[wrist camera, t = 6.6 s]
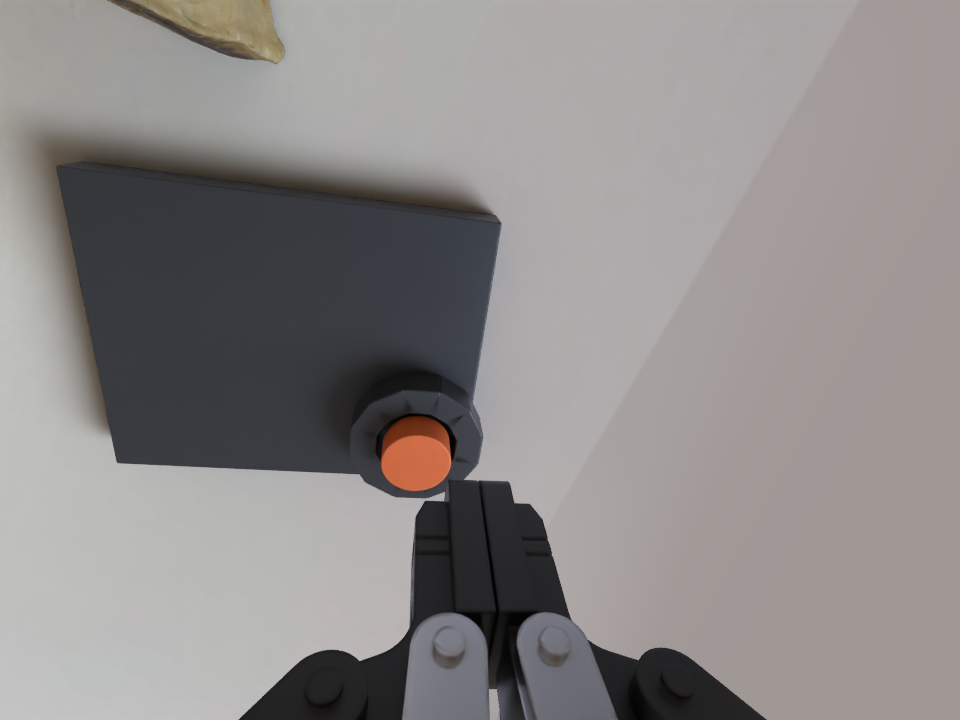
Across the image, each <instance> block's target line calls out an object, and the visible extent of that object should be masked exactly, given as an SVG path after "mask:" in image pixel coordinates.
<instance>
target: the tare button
mask: <svg viewBox="0 0 960 720" xmlns="http://www.w3.org/2000/svg"><path fill="white" fill-rule="evenodd" d="M450 467H451V454H450V443H449V436H448V433H447V431H446V430H445V428H444V427H443V426H442V425H441V424H440V423H439V422H437V421H436V420H434V419H432V418H429V417H425V416H409V417H405V418H402V419H400V420H398V421H396V422H395V423H393V424H392V425H391V426H390V427H389V428H388V430H387V431H386V433H385V435H384V438H383V446H382V455H381V469H382V472H383V474H384V476H385V477H386V478H387V480H388V481H389V482H390V483H392V484H393V485H395V486H396V487H399V488H401V489H404V490H410V491H420V490H426V489H429V488H432V487H434V486H436V485H437V484H439V483H440V482H441V481H442V480H443V479H444V478H445V477H446V476H447V474H448V472H449V470H450Z"/></svg>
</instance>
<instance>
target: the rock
mask: <svg viewBox="0 0 960 720" xmlns="http://www.w3.org/2000/svg"><path fill="white" fill-rule="evenodd" d="M108 1H110V2H112V3H114V4H116V5H118V6H120V7H122V8H124V9H126V10H128V11H130V12H132V13H134V14H137V15H139V16H142V17H144V18H146V19H149V20H151V21H153V22H155V23H157V24H159V25H161V26H163V27H165V28H167V29H169V30H171V31H173V32H175V33H178V34H180V35H182V36H184V37H185V38H187V39H189V40H191V41H193V42H196V43H198V44H201V45H203V46H206V47H208V48H210V49H213V50H215V51H217V52H219V53H222V54H225V55H228V56H231V57H236V58H241V59H250V60H265V61H270V62H273V63H275V64H277V63H279V62H280V61H281V59H282V58H283V57H284V54H285V51H284V46H283V44H282V43H281V41H280V39H279V38H278V36H277V34H276V31H275V29H274V26H273V19H272V12H271V6H270V0H108Z"/></svg>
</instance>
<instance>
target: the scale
mask: <svg viewBox="0 0 960 720" xmlns="http://www.w3.org/2000/svg"><path fill="white" fill-rule="evenodd" d="M56 168H57V173H58V177H59V182H60V187H61V192H62V197H63V202H64V207H65V212H66V217H67V221H68V226H69V231H70V236H71V241H72V246H73V251H74V256H75V261H76V265H77V270H78V275H79V280H80V285H81V290H82V295H83V300H84V305H85V309H86V314H87V319H88V324H89V329H90V334H91V339H92V344H93V349H94V353H95V358H96V363H97V368H98V373H99V378H100V383H101V388H102V392H103V397H104V402H105V407H106V412H107V417H108V422H109V427H110V432H111V436H112V441H113V446H114V451H115V456H116V461H117V463H125V464H147V465H169V466H191V467H213V468H234V469H256V470H278V471H300V472H321V473H343V474H360V475H361V477H362V478H363V480H364V481H365V482H366V483H368V484H370V485H372V486H374V487H376V488H378V489H380V490H382V491H384V492H386V493H388V494H390V495H392V496H395V497H405V498H429V497H432V496H435V495H437V494H440V493H442V492H445V490H446V483H447V480H464V479H465V478H466V477H467V476H468V475H469V473H470V472H471V471H472V470H473V469H474V468H475V467H476V466H477V464H478V463H479V457H480V452H481V446H482V441H483V434H482V428H481V423H480V418H479V415H478V413H477V411H476V409H475V407H474V405H473V397H474V391H475V385H476V379H477V372H478V366H479V360H480V354H481V348H482V342H483V335H484V329H485V323H486V317H487V311H488V305H489V298H490V292H491V286H492V280H493V274H494V268H495V261H496V255H497V249H498V243H499V237H500V231H501V222H500V221H499V219H498V218H497V216H495V215H488V214H481V213H473V212H465V211H458V210H450V209H443V208H435V207H427V206H420V205H412V204H404V203H397V202H389V201H382V200H374V199H366V198H359V197H351V196H343V195H336V194H328V193H320V192H313V191H305V190H298V189H290V188H282V187H275V186H267V185H259V184H252V183H244V182H237V181H229V180H221V179H214V178H206V177H198V176H191V175H183V174H175V173H168V172H160V171H153V170H145V169H137V168H130V167H122V166H114V165H107V164H99V163H91V162H84V161H82V162H76V163H71V164H65V165H59V166H57V167H56ZM409 416H425V417H429V418H432V419H434V420H436V421H437V422H439V423H440V424H441V425H442V426H443V427H444V428H445V430H446V431H447V433H448V436H449V443H450V454H451V467H450V470H449V472H448V474H447V476H446V477H445V478H444V479H443V480H442V481H441V482H440V483H439V484H437V485H436V486H434V487H432V488H429V489H426V490H420V491H410V490H404V489H401V488H399V487H396V486H395V485H393V484H392V483H390V482H389V481H388V480H387V478H386V477H385V476H384V474H383V472H382V469H381V455H382V446H383V438H384V435H385V433H386V431H387V430H388V428H389V427H390V426H391V425H392V424H393V423H395V422H396V421H398V420H400V419H402V418H405V417H409Z"/></svg>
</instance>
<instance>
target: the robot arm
mask: <svg viewBox="0 0 960 720" xmlns="http://www.w3.org/2000/svg"><path fill="white" fill-rule="evenodd" d="M547 538H548V537H547V534H546V530H545V527H544V523H543V520H542V518H541V517H540V516H539V515H538V513H537V512H536V511H535V510H534V508H533V507H532V506H531V505H530V504H516V503H514V500H513V495H512V491H511V486H510V483H509V482H507V481H475V480H447V483H446V490H445V499H444V502H443V501H425V502H424V504H423V505H422V507H421V509H420V510H419V512H418V514H417V516H416V520H415V531H414V542H413V553H412V566H411V597H410V599H411V600H410V628H409V630H408V632H407V633H406V635H405V636H404V638H403V639H402V640H401V641H400V642H399V643H398V644H397V645H395V646H394V647H393V648H391V649H390V650H388V651H386V652H384V653H381V654H379V655H376V656H373V657H370V658H368V659H365V660H362V661H359V660H358V659H357V658H355V657H354V656H352V655H351V654H349V653H346V652H344V651H339V650H325V651H320V652H317V653H314V654H312V655H309V656H308V657H306V658H304V659H303V660H301V661H300V662H299V663H298V664H296V665H295V666H294V667H293V668H292V669H291V670H290V671H289V672H288V673H287V674H286V675H285V676H284V677H283V678H282V679H281V680H280V681H279V682H277V683H276V684H275V685H274V686H273V687H272V688H271V689H270V690H269V691H268V692H267V693H266V694H265V695H264V696H263V697H262V698H261V699H260V700H259V701H258V702H257V703H256V704H254V705H253V706H252V707H251V708H250V709H249V710H248V711H247V712H246V713H245V714H244V715H243V716H242V717H241V718H240V719H239V720H490V713H489V689H497V692H498V701H499V709H500V710H499V714H498V718H497V720H766V719H765V718H764V717H762V716H761V715H760V714H759V713H757V712H756V711H755V710H754V709H752V708H751V707H750V706H749V705H748V704H746V703H745V702H744V701H743V700H741V699H740V698H739V697H738V696H736V695H735V694H734V693H733V692H731V691H730V690H729V689H728V688H727V687H725V686H724V685H723V684H722V683H720V682H719V681H718V680H716V679H715V678H714V677H713V676H712V675H710V674H709V673H708V672H707V671H705V670H704V669H703V668H702V667H700V666H699V665H698V664H697V663H696V662H694V661H693V660H692V659H690V658H689V657H687V656H686V655H684V654H682V653H680V652H678V651H675V650H672V649H668V648H654V649H650V650H648V651H647V652H645V653H644V654H643V655H642V656H641V658H640V659H639V661H638V660H635V659H632V658H629V657H625V656H623V655H619V654H616V653H613V652H610V651H607V650H605V649H602V648H600V647H598V646H596V645H595V644H593V643H592V642H590V641H589V640H587V638H586V636H585V635H584V633H583V632H582V630H581V629H580V628H579V627H578V626H577V625H576V624H575V623H574V622H572V620H571V618H570V615H569V612H568V609H567V605H566V602H565V598H564V594H563V591H562V587H561V584H560V580H559V577H558V573H557V569H556V566H555V562H554V559H553V557H552V552H551V548H550V544H549V542H548V540H547Z"/></svg>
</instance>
